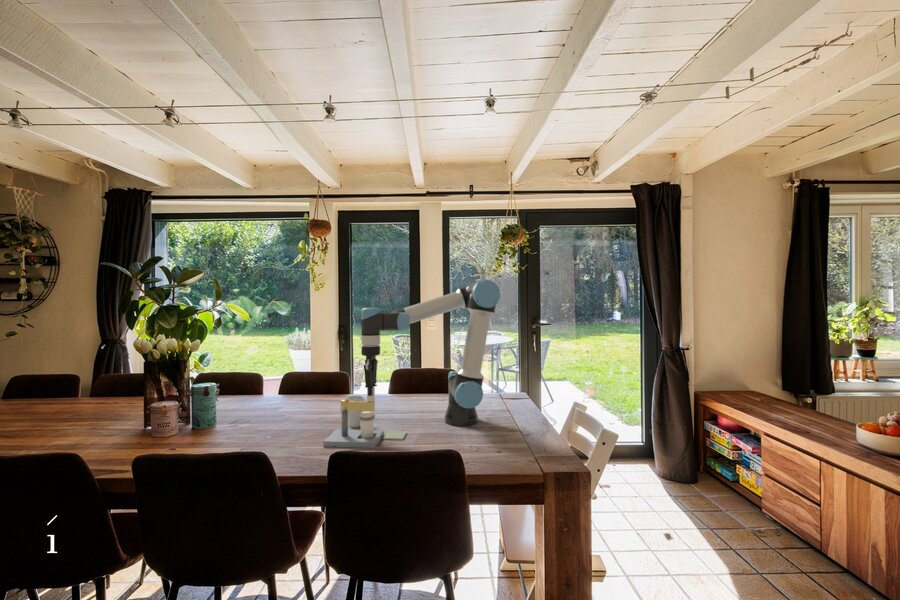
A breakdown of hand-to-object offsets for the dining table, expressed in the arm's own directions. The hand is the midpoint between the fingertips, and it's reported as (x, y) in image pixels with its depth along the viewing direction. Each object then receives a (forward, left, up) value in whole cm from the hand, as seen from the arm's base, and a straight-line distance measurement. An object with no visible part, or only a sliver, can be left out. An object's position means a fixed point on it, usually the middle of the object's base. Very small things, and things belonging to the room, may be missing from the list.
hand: (371, 402), depth 167 cm
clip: (+4, +6, -1) cm, 7 cm away
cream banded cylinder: (0, +6, -14) cm, 15 cm away
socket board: (+5, +6, -13) cm, 16 cm away
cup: (+11, -14, -14) cm, 22 cm away
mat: (-10, 0, -13) cm, 17 cm away
